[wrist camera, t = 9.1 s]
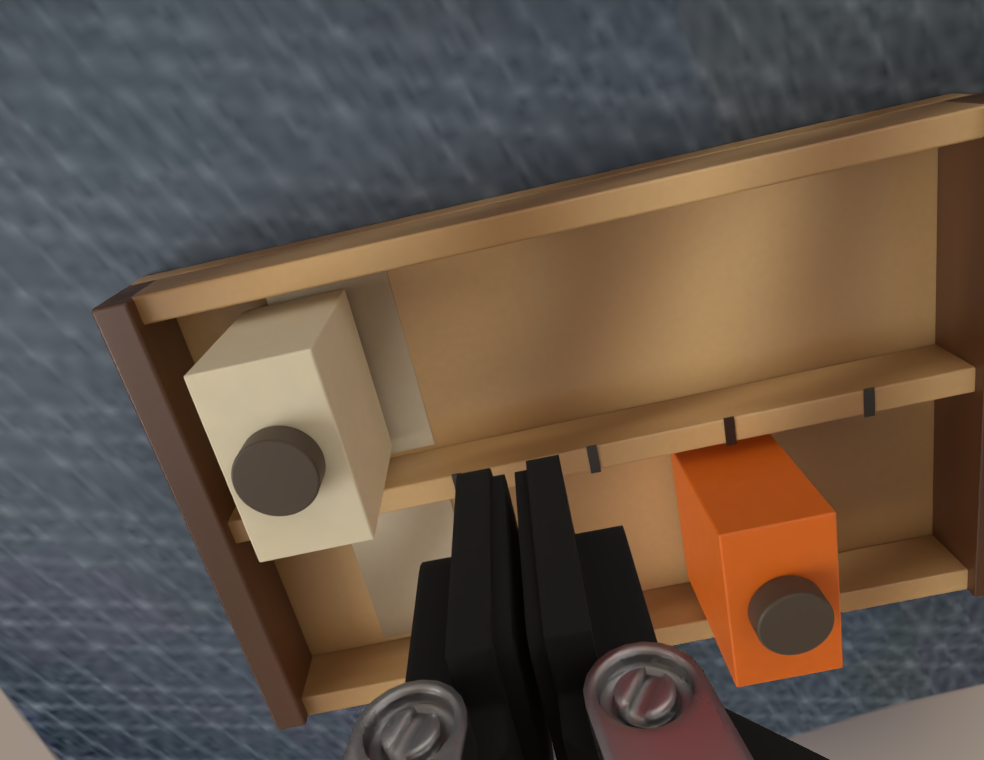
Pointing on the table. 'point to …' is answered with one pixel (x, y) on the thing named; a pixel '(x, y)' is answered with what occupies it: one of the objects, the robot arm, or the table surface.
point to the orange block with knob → (761, 559)
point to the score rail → (615, 373)
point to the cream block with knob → (295, 425)
